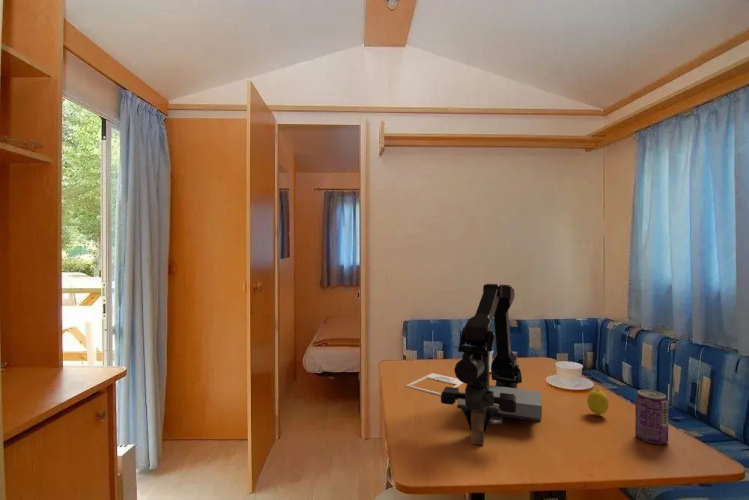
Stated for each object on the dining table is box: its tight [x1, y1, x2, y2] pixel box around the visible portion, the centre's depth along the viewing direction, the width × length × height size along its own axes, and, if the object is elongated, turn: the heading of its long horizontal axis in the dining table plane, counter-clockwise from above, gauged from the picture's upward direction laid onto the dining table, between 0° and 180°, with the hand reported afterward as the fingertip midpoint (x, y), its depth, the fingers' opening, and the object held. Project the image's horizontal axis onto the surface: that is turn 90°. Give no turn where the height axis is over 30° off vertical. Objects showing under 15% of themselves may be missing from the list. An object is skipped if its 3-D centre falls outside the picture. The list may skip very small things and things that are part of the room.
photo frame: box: [405, 372, 463, 397], centre depth 149 cm, size 15×1×18 cm
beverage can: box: [634, 389, 669, 445], centre depth 106 cm, size 7×7×12 cm
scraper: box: [470, 410, 486, 446], centre depth 112 cm, size 3×18×8 cm, turn 161°
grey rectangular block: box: [485, 384, 543, 422], centre depth 119 cm, size 20×12×8 cm, turn 70°
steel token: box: [485, 413, 503, 425], centre depth 118 cm, size 5×5×2 cm
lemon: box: [587, 388, 609, 417], centre depth 121 cm, size 6×6×8 cm
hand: (478, 431), depth 106 cm, fingers closed on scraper, 3 cm apart
